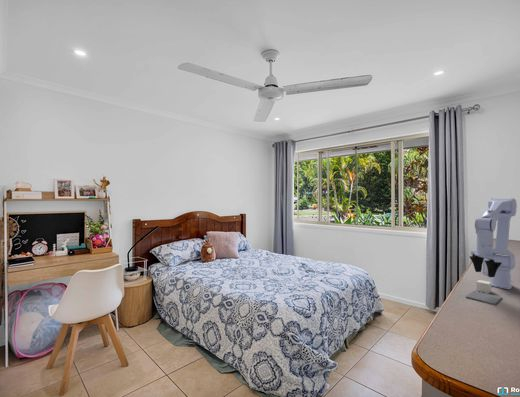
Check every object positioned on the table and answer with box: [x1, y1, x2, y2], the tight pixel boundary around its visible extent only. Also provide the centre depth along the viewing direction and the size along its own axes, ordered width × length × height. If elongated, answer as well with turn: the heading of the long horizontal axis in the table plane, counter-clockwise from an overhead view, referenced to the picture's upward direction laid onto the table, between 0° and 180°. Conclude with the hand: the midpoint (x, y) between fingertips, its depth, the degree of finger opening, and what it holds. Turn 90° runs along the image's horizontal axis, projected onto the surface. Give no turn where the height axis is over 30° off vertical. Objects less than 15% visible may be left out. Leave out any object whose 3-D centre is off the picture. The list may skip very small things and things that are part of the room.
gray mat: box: [465, 290, 503, 306], centre depth 120 cm, size 12×10×1 cm
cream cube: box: [475, 279, 492, 294], centre depth 128 cm, size 4×4×4 cm
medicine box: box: [482, 258, 488, 276], centre depth 154 cm, size 8×4×9 cm, turn 168°
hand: (484, 274), depth 123 cm, fingers open, 7 cm apart
